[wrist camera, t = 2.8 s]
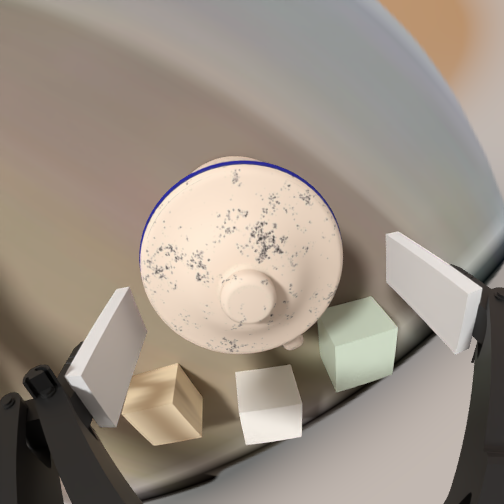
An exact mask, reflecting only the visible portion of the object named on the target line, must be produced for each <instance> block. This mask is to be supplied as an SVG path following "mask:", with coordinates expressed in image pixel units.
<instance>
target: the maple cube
mask: <svg viewBox="0 0 504 504" xmlns="http://www.w3.org/2000/svg"><path fill="white" fill-rule="evenodd" d="M202 414H203V397H202V396H201V394H200V393H199V392H198V390H197V389H196V388H195V386H194V385H193V384H192V382H191V381H190V379H189V378H188V377H187V375H186V374H185V372H184V371H183V369H182V368H181V367H180V365H179V364H178V363H176V364H173V365H170V366H166V367H163V368H159V369H155V370H152V371H148V372H145V373H141V374H137V375H133V376H132V379H131V382H130V386H129V389H128V393H127V396H126V400H125V403H124V407H123V411H122V415H123V416H124V417H125V418H126V419H127V420H128V421H129V422H130V423H131V424H132V425H133V426H134V427H135V428H136V429H137V430H138V431H139V432H140V433H141V434H142V435H143V436H144V437H145V438H146V439H147V440H148V441H149V442H150V443H151V444H152V445H153V446H156V445H162V444H169V443H174V442H180V441H185V440H191V439H196V438H201V437H202Z"/></svg>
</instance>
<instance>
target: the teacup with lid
mask: <svg viewBox="0 0 504 504" xmlns="http://www.w3.org/2000/svg"><path fill="white" fill-rule="evenodd" d="M139 262H140V271H141V277H142V281H143V285H144V288H145V291H146V294H147V296H148V298H149V300H150V302H151V304H152V306H153V308H154V309H155V311H156V312H157V313H158V315H159V316H160V317H161V318H162V320H163V321H164V322H165V323H166V324H167V325H168V326H169V327H170V328H171V329H172V330H174V331H175V332H176V333H177V334H179V335H180V336H182V337H183V338H185V339H186V340H188V341H190V342H192V343H193V344H196V345H198V346H200V347H203V348H206V349H209V350H213V351H217V352H222V353H230V354H248V353H257V352H262V351H266V350H270V349H273V348H276V347H279V346H281V345H282V346H283V347H284V348H285V349H287V350H293V349H295V348H298V347H300V346H301V345H302V344H303V335H302V334H303V333H304V332H305V331H306V330H308V329H309V328H310V327H311V326H312V325H313V324H314V323H315V322H316V321H317V320H318V319H319V318H320V317H321V316H322V314H323V313H324V312H325V310H326V309H327V307H328V306H329V304H330V303H331V301H332V299H333V297H334V295H335V292H336V290H337V287H338V285H339V281H340V278H341V273H342V266H343V246H342V238H341V234H340V230H339V226H338V223H337V221H336V218H335V216H334V214H333V212H332V210H331V208H330V207H329V205H328V204H327V202H326V201H325V199H324V198H323V197H322V196H321V194H320V193H319V192H318V191H317V190H316V189H315V188H314V187H313V186H312V185H310V184H309V183H308V182H307V181H305V180H304V179H303V178H301V177H299V176H298V175H296V174H295V173H293V172H291V171H289V170H287V169H284V168H282V167H279V166H276V165H273V164H269V163H265V162H261V161H258V160H256V159H252V158H248V157H242V156H229V157H222V158H218V159H215V160H212V161H210V162H208V163H206V164H204V165H202V166H200V167H199V168H197V169H196V170H195V171H193V172H192V173H191V174H190V175H188V176H186V177H185V178H183V179H182V180H180V181H179V182H178V183H176V184H175V185H174V186H173V187H172V188H171V189H170V190H169V191H168V192H167V193H166V194H165V195H164V196H163V197H162V198H161V199H160V201H159V202H158V203H157V205H156V206H155V208H154V209H153V211H152V212H151V214H150V216H149V218H148V220H147V223H146V225H145V228H144V231H143V235H142V239H141V244H140V255H139Z"/></svg>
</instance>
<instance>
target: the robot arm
mask: <svg viewBox="0 0 504 504" xmlns="http://www.w3.org/2000/svg"><path fill="white" fill-rule="evenodd" d="M386 282H387V283H388V284H389V285H390V286H391V287H392V288H393V289H394V290H395V291H396V292H397V293H398V294H399V295H400V296H401V297H402V298H403V299H404V300H405V301H406V303H407V304H408V305H409V306H410V307H411V308H412V309H413V310H414V311H415V312H416V313H417V314H418V315H419V316H420V317H421V318H422V319H423V320H424V321H425V322H426V323H427V324H428V326H429V327H430V328H431V329H432V330H433V331H434V332H435V333H436V334H437V335H438V336H439V337H440V338H441V340H442V341H443V342H444V343H445V344H446V345H447V346H448V347H449V348H450V349H451V351H452V352H453V353H454V354H455V355H456V354H458V353H460V352H462V351H464V350H466V349H468V348H469V346H470V342H471V339H472V336H473V337H474V338H475V339H476V340H477V345H476V348H475V352H474V355H473V358H472V361H471V362H472V363H474V360H475V363H474V364H475V365H474V375H473V385H472V394H471V401H470V407H469V414H468V420H467V425H466V430H465V435H464V440H463V445H462V449H461V453H460V457H459V461H458V465H457V469H456V473H455V476H454V479H453V483H452V486H451V489H450V492H449V495H448V497H447V499H446V500H445V502H444V504H504V288H494V289H490V288H489V287H488V286H486V285H485V284H483V283H482V282H481V281H479V280H478V279H476V278H474V276H472V275H471V274H468V272H466V271H465V270H463V269H462V268H460V267H457V266H455V265H452V264H450V265H449V264H448V263H446V262H445V261H443V260H442V259H440V258H439V257H437V256H436V255H434V254H433V253H431V252H430V251H428V250H426V249H425V248H423V247H422V246H420V245H419V244H417V243H416V242H414V241H412V240H411V239H409V238H408V237H406V236H405V235H403V234H401V233H400V232H394V233H389V234H386ZM146 334H147V330H146V327H145V325H144V322H143V320H142V317H141V315H140V312H139V310H138V307H137V305H136V302H135V300H134V297H133V295H132V292H131V289H130V287H125V288H120V289H116V291H115V292H114V294H113V295H112V297H111V298H110V300H109V302H108V303H107V305H106V306H105V308H104V309H103V311H102V313H101V314H100V316H99V317H98V319H97V321H96V322H95V324H94V326H93V327H92V329H91V330H90V332H89V334H88V335H87V337H86V339H85V341H83V342H81V343H80V344H79V345H78V346H77V347H75V348H74V350H73V351H72V353H71V355H70V358H68V360H67V362H66V364H65V365H64V367H63V369H62V370H61V372H60V374H59V376H58V377H57V378H56V376H55V375H54V373H53V372H52V370H51V369H50V367H49V366H48V365H39V366H36V367H34V368H33V369H31V370H30V371H29V372H28V373H27V374H26V375H25V377H24V378H23V384H24V386H25V387H26V389H27V390H28V392H29V393H30V394H31V396H32V397H33V399H31V400H27V401H24V400H23V399H22V398H21V396H20V395H19V394H18V393H15V392H13V393H9V394H7V395H5V396H4V397H3V398H2V399H1V400H0V504H64V502H63V496H62V490H61V484H60V478H61V480H62V483H63V485H64V487H65V489H66V492H67V494H68V496H69V498H70V500H71V502H72V504H143V503H142V502H141V500H140V499H139V498H138V496H137V495H136V494H135V492H134V491H133V490H132V488H131V487H130V485H129V484H128V483H127V481H126V480H125V478H124V477H123V475H122V474H121V473H120V471H119V470H118V468H117V467H116V465H115V464H114V462H113V460H112V459H111V457H110V456H109V454H108V452H107V451H106V449H105V448H104V446H103V444H102V443H101V441H100V439H99V437H98V436H97V434H96V432H95V430H94V429H93V428H92V427H91V425H90V424H91V421H92V418H93V419H94V420H95V421H96V423H97V424H98V425H99V426H100V427H117V424H118V420H119V417H120V413H121V410H122V407H123V403H124V400H125V397H126V394H127V391H128V387H129V384H130V381H131V378H132V375H133V372H134V369H135V366H136V363H137V360H138V357H139V354H140V351H141V348H142V345H143V342H144V340H145V337H146ZM59 476H60V477H59Z"/></svg>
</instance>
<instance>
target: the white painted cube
mask: <svg viewBox="0 0 504 504" xmlns="http://www.w3.org/2000/svg"><path fill="white" fill-rule="evenodd" d="M236 384H237V396H238V408H239V415H240V420H241V424H242V429H243V434H244V438H245V442H246V445H250V444H258V443H266V442H272V441H279V440H285V439H291V438H296V437H301V436H302V401H301V397H300V394H299V391H298V387H297V384H296V381H295V377H294V374H293V371H292V367H291V364H290V365H283V366H277V367H270V368H264V369H256V370H249V371H241V372H236Z"/></svg>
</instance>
